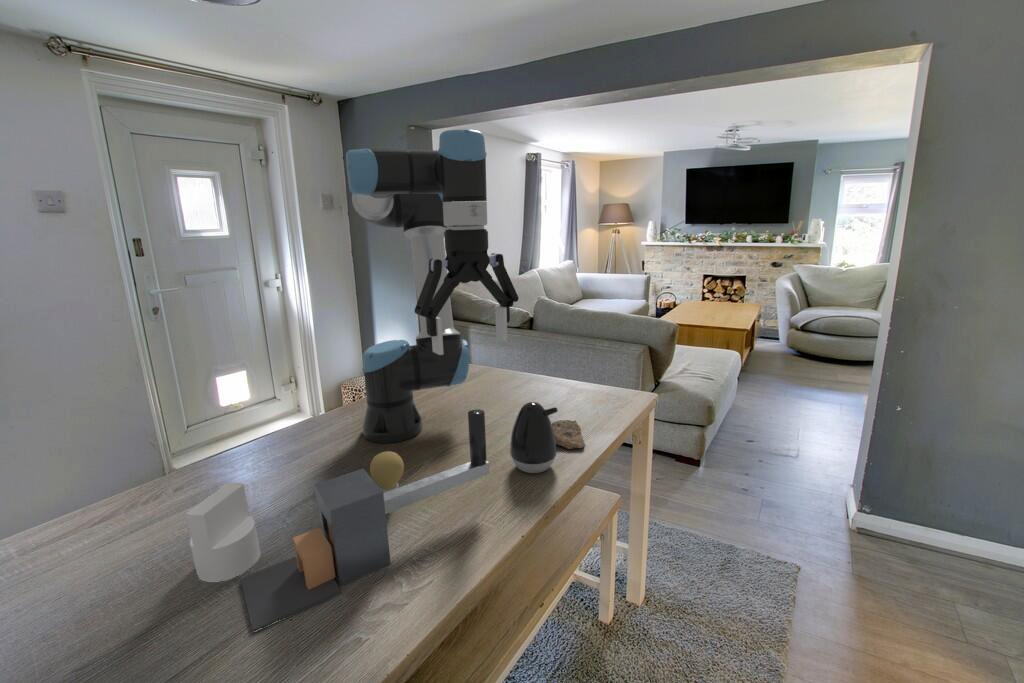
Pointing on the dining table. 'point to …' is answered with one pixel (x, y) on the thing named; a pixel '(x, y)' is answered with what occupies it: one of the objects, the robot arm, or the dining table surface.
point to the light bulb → (387, 470)
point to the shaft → (449, 477)
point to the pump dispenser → (533, 439)
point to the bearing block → (353, 524)
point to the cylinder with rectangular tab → (223, 534)
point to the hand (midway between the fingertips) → (471, 346)
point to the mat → (281, 593)
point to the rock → (568, 434)
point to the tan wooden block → (314, 557)
